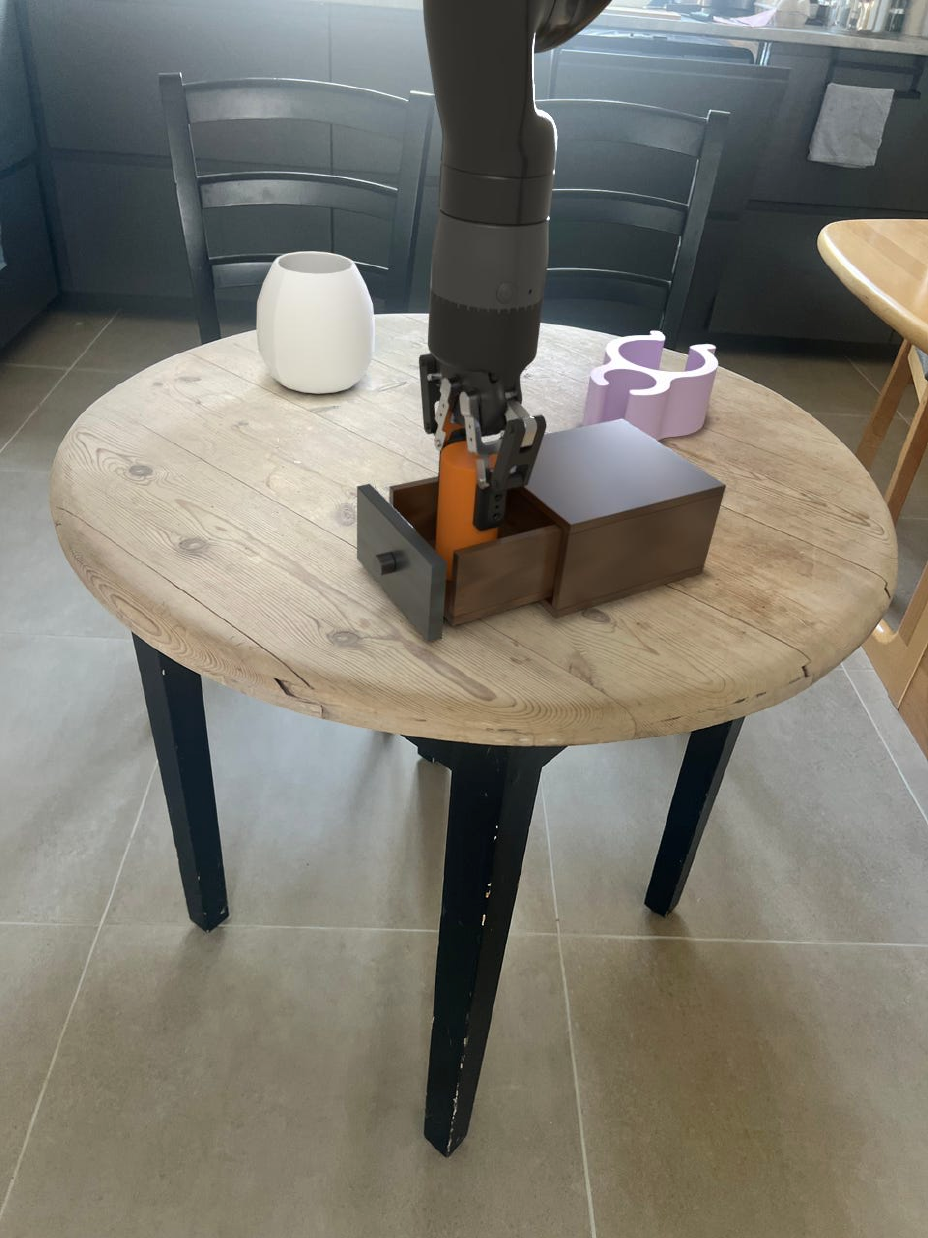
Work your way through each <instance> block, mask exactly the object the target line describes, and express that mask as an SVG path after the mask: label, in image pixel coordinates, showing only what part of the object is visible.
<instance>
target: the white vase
mask: <svg viewBox="0 0 928 1238" xmlns="http://www.w3.org/2000/svg"><path fill="white" fill-rule="evenodd" d="M374 312H375V311H374V304H373V301H372V298H371V295H370V292H369V290H368V286H367V284H366V282H365V280H364V278H363V276H362V275H361V273H360V271H359V268H358V267H357V265H356V263H354V261H353V260H352V259H351V258H349V257H346V256H344V255H341V254H338V253H331V252H326V251H313V250H311V251H310V250H309V251H308V250H307V251H295V252H288V253H285V254H282V255H279V256H277V257H276V258H275V259H274V260H273V262H272V264H271V266H270V268H269V270H268V272H267V275H266V276H265V278H264V280H263V282H262V285H261V289H260V291H259V295H258V299H257V302H256V338H257V349H258V352H259V354H260V356H261V358H262V361H263V363H264V366H265V367H266V370H267V371H268V373H269V375H270V376H271V377H272V378H274V379H275V380H276V381H277V382H278V383H279V384H281V385H283V386H284V387H285V388H288V390H289V389H290V390H293V391H297V392H300V393H305V394H307V393H309V394H319V395H320V394H330V393H331V394H332V393H339V392H341V391H345V390H348V389H349V388H351V387H353V386H354V385H356V384H357V383H358V382H359V381H361V380H362V379H363V378H364V377H366V374H367V372H368V370H369V368H370V365H371V362H372V359H373V357H374V353H375V342H376V340H375V339H376V324H375V313H374Z"/></svg>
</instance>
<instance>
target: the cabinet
mask: <svg viewBox="0 0 928 1238" xmlns="http://www.w3.org/2000/svg"><path fill="white" fill-rule="evenodd" d="M513 469H514V470H516V466H515V467H513ZM726 488H727V484H725V483H724V482H722V481H720V479H717V478H716V477H714V476H713V475H711V474H710V473H708V472H706V471H705V470H704V469H702V468H700V467H699V466H698V465H696V464H694V463H693V462H692V461H689V460H687V458H685V457H683V456H681V455H680V454H678V453H677V452H675V451H673V450H672V449H671V448H669V447H668V446H666V445H665V444H663V443H662V442H659V441H657V440H655V439H653V438H652V437H650V436H649V435H647V434H646V433H644V432H642V431H641V430H639V429H638V428H636V427H635V426H633V425H632V424H630V423H628V422H627V421H625V420H624V419H619V420H614V421H609V422H604V423H599V424H594V425H589V426H584V427H582V426H579V427H574V428H569V429H564V430H559V431H554V432H549V433H544V436H543V440H542V443H541V446H540V449H539V452H538V455H537V458H536V461H535V464H534V467H533V470H532V473H531V476H530V479H529V482H528V485H526V486H522V487H518V488H515V489H516V490H517V491H518V492H519V493H521V494H522V495H523V496H524V497H525V498H527V499H528V500H529V501H530V502H531V503H533V504H534V505H535V506H536V507H537V508H539V509H540V510H541V511H542V512H543V513H545V514H546V515H547V516H548V517H549V518H551V519H552V520H553V521H554V522H555V523H557V524H558V525H559V526H560V527H561V528H563V529H564V531H563V537H562V543H561V549H560V556H559V562H558V568H557V575H556V581H555V587H554V594H553V596H552V597H548V598H545V599H541V600H538V601H537V602H538V603H539V604H540V605H541V606H542V607H543V608H544V609H545V610H546V611H547V612H548V613H549V614H550V615H551V616H553V617H554V619H559V618H563V617H565V616H568V615H571V614H575V613H579V612H580V611H584V610H587V609H590V608H594V607H597V606H601V605H603V604H607V603H610V602H613V601H616V600H619V599H622V598H626V597H629V596H632V595H636V594H639V593H642V592H645V591H649V590H652V589H655V588H657V587H660V586H665V585H668V584H671V583H674V582H677V581H680V580H684V579H687V578H691V577H694V576H697V575H700V574H702V573H703V572H704V569H705V564H706V561H707V557H708V553H709V549H710V545H711V542H712V539H713V535H714V531H715V529H716V524H717V521H718V517H719V513H720V510H721V506H722V502H723V499H724V495H725V492H726Z"/></svg>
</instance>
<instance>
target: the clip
mask: <svg viewBox="0 0 928 1238" xmlns="http://www.w3.org/2000/svg"><path fill="white" fill-rule="evenodd" d="M665 341H666V336H665V335H664V334H663V331H662V332H661V331H659V330H651V331H650V332H649V335H647V334H646V335H644V334H643V335H642V334H641V335H639V334H638V335H626V336H622V337H619V338H615V339H613V340H611V341H608V343H607V344H606V346H605V350H604V356H603V363H602V365H599V366H597V367H594V368H593V369H592V370H591V371H590V374H589V380H588V381H589V382H588V386H587V392H586V399H585V405H584V410H583V411H584V412H583V417H582V423H581V427H584V426H589V425H594V424H599V423H604V422H609V421H614V420H619V419H624V420H625V421H627V422H628V423H630V424H632V425H633V426H635V427H636V428H638V429H639V430H641V431H642V432H644V433H646V434H647V435H649V436H650V437H652V438H653V439H655V440H657V441H658V442H659V441H660V440H663V439H667V438H677V437H684V436H688V435H692V434H694V433H696V432H698V431H699V430H701V429H702V428H703V426H704V424H705V419H706V415H707V412H708V407H709V403H710V400H711V395H712V391H713V387H714V383H715V379H716V376H717V370H718V367H719V361H718V359H717V357H716V356H715V352H716V349H717V346H716V345H714V344H709V343H705V344H695V345H691V346H689V350H688V355H687V360H686V365H685V369H684V371H665V370H660V365H661V360H662V356H663V351H664V345H665Z"/></svg>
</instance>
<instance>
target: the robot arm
mask: <svg viewBox="0 0 928 1238" xmlns="http://www.w3.org/2000/svg"><path fill="white" fill-rule="evenodd" d="M612 2H613V0H422V12H423V13H422V14H423V25H424V34H425V40H426V47H427V55H428V60H429V68H430V74H431V80H432V87H433V95H434V100H435V105H436V109H437V114H438V118H439V124H440V129H441V147H440V148H441V149H440V165H439V183H438V185H439V186H438V203H437V204H438V208H437V216H436V222H435V227H434V233H433V240H432V246H431V247H432V248H431V262H430V263H431V265H430V285H429V305H428V308H429V309H428V328H427V329H428V331H427V348H428V350H429V353H424V354H420V355H419V356H418V369H419V381H420V394H421V409H422V420H423V421H422V422H423V429H424V432H425V433H426V435H432V434H433V436H434V440H433V445H434V447H435V449H436V451H438V452H439V453H438V454H439V456H438V473H437V474H438V475H437V476H438V493H439V478H440V462H441V452H442V450H443V449H444V448H445V447H446V446H447V445H449V444H452V443H455V442H461V441H467V446H468V452H469V454H470V455H472V456H474V457H475V465H476V475H477V482H478V484H476V491H475V502H474V514H473V525H474V526H475V527H476V528H477V529H478V530H479V531H485V530H489V529H493V528H497V527H499V526H500V525H501V524H502V522H503V520H504V512H505V504H506V495H507V490H509V489H513V488H518V487H522V486H526V485H528V482H529V479H530V476H531V473H532V470H533V467H534V464H535V461H536V458H537V455H538V452H539V449H540V446H541V443H542V440H543V436H544V434H546V430H547V420H546V418H545V416H544V415H543V414H541V413H540V414H535V415H530V413H529V412H528V411H527V410H526V408H525V407H524V406H523V405H522V404H523V392H522V388H521V387H522V386H521V375H522V374H523V372H524V371H525V369H526V368H527V367H528V366H529V365H530V364H532V362H533V361H534V360H535V359H536V357H537V354H538V346H539V338H540V329H541V321H542V313H543V307H544V306H543V305H544V296H545V288H546V280H547V272H548V264H549V252H550V250H549V247H550V246H549V240H550V239H549V224H550V216H551V215H550V214H551V207H552V197H553V189H554V180H555V173H556V172H555V170H556V163H557V162H556V161H557V147H558V132H557V127H556V125H555V122H554V120H553V118H552V117H551V116H550V115H549V114H548V113H547V112H546V111H544V110H543V109H541V108H539V107H538V106H536V103H535V84H534V83H535V82H534V55H535V54H543V53H546V52H549V51H552V50H555V49H556V48H559V46H562V45H564V44H565V43H567V42H568V41H570V40H571V39H573V38H574V37H576V36H577V35H578V34H579V33H580V32H582V31H583V30H584V29H586V28H587V27H588V26H589V25H590V24H591V23H592V22H593V21H594V20H596V19H597V18H598V17H599V16H600V15H601V14H602V13H603V12H604V11H605V10H606V8H607V7H608V6H609V5H610V4H611V3H612ZM437 402H438V405H437V408H436V403H437ZM498 434H499V435H500V437H499V438H498V439H494V440H489V441H485V442H483V440H482V438H485V437H491V436H496V435H498ZM497 453H498V456H497V459H496V463H495V466H494V469H493V470H490V464H489V457H490V456H491V455H492V454H497ZM515 466H516V470H514V469H513V467H515Z"/></svg>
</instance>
